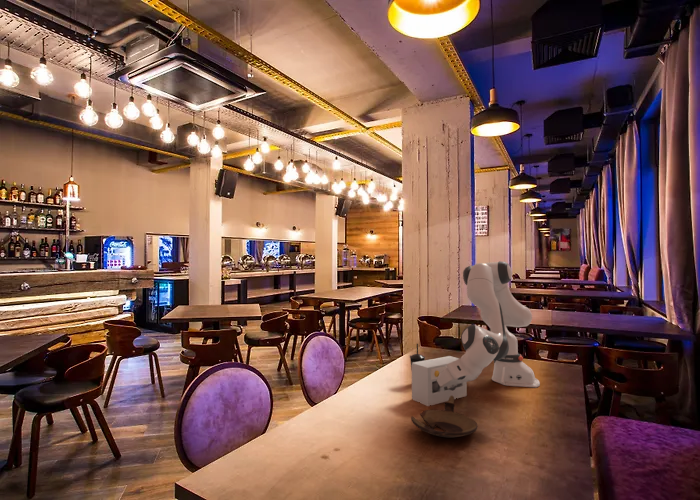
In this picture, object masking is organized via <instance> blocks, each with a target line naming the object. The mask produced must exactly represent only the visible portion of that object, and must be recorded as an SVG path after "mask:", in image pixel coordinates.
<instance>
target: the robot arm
mask: <svg viewBox="0 0 700 500" xmlns="http://www.w3.org/2000/svg"><path fill="white" fill-rule="evenodd" d="M512 276H513V271H512V268H511V266H510V264H509V263H507V262H506V261H501V260H500V261H492V262H491V261H490V262H484V263H483V262H479V263H475V264H474V265H469V266H466V267H465V268H464V269H463V271H462V279H463V281H464V285H466V295H467V299H468V300H469V301H470V302H471V304H473V306H475V307H477V308H478V309H479V310H480V317H481V320H482V321H483V322H484V323H485V324H486V325H487V326H488V327H489V330H488V329H485V328H484V327H482V326H479V325H476V324H470V325H468V326H467V327H465V328H464V330H463V331H462V333H461V335H460V339H461V344H462V346H463V350H464V351H465V353H464V354H462V356H461V357H458V358H459V359H457V360H456V361H453V362H451V363H449V364H448V365H447V368H446V369H445V370H443V372H442V373H441V374H440V375H439V376H438V378H437V382H438V384H439V386H440V387H441V388H442V387H446V386H447V388H448V389H449V388H453V387H454V386H455V385H457V384H459V383H464V382H467V383H468V382H471V381H475V380H476V379H477V378H478V377H480V375H481V374H482V371H483V370H484V369H485V368H487V367H488V366H489V365H490V364H491V363H492V362H493V364H494V365H493V372H492V376H491V380H492V381H493V382H496V383H498V384H500V385H503V386H506V387H507V386H510V387H526V388H539V387H540V385H541V382H540V380H539V379H538V378H536V376H535V373H534V371H533V369H532V368H531V367H530V366H529V365H527V364H526V363H525V362H523V360H524V357H523V356H522V354H521V353H519V352H518V351H519V349H518V347H519V345H518V338H517V336H515V335H514V333H512V332H510V331H509V330H508V327H513V328H522V327H523V328H524V327H528V326H529V325H530V324H531V323H532V320H533V313H532V311H531V310H530V308H529V307H527V306H525V305H523V304H522V303H521V302H519V301H518V300H517V299H516V298H515V297H514V296H513V294H512V292H511V290H510V287H509V285H508V283H510V281H511V280H512V278H513V277H512Z"/></svg>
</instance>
